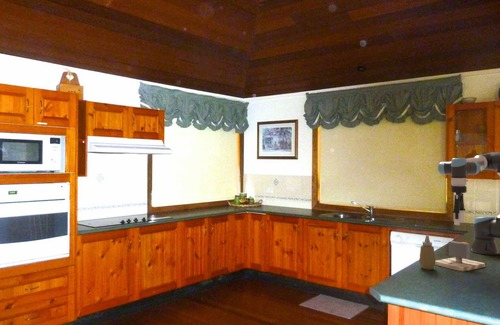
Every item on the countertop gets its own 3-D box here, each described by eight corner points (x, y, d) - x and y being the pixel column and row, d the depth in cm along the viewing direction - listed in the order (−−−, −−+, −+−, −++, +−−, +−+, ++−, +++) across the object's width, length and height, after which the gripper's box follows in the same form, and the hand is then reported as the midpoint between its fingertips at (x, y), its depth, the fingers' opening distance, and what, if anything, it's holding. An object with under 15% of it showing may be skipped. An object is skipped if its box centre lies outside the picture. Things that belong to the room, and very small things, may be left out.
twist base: (456, 260, 233) (456, 252, 233) (484, 266, 218) (484, 258, 218) (433, 264, 223) (433, 256, 223) (462, 271, 208) (462, 262, 208)
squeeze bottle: (426, 270, 210) (426, 236, 210) (415, 267, 217) (415, 234, 217) (438, 269, 212) (438, 236, 212) (428, 266, 219) (428, 233, 220)
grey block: (448, 255, 224) (448, 240, 224) (452, 255, 226) (452, 240, 226) (466, 259, 216) (466, 243, 216) (469, 258, 218) (469, 242, 218)
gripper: (463, 186, 209) (463, 226, 209) (469, 184, 229) (469, 221, 229) (447, 186, 213) (447, 225, 213) (455, 184, 233) (455, 220, 233)
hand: (459, 223), depth 221 cm, fingers open, 13 cm apart
